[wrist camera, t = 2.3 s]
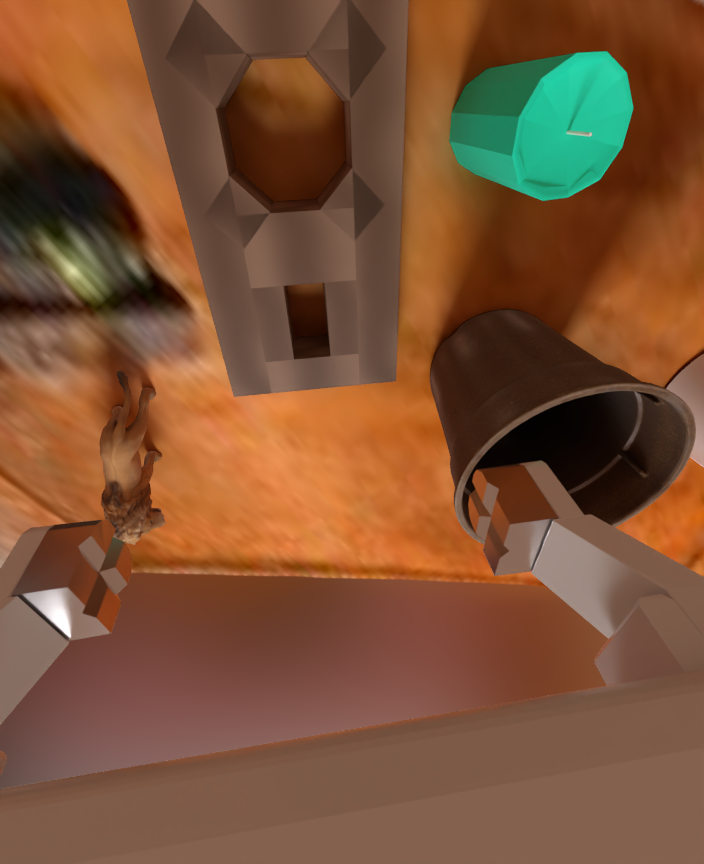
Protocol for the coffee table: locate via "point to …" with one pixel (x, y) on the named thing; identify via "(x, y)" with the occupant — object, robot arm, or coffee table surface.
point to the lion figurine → (128, 470)
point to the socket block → (298, 219)
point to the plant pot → (555, 416)
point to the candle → (544, 123)
